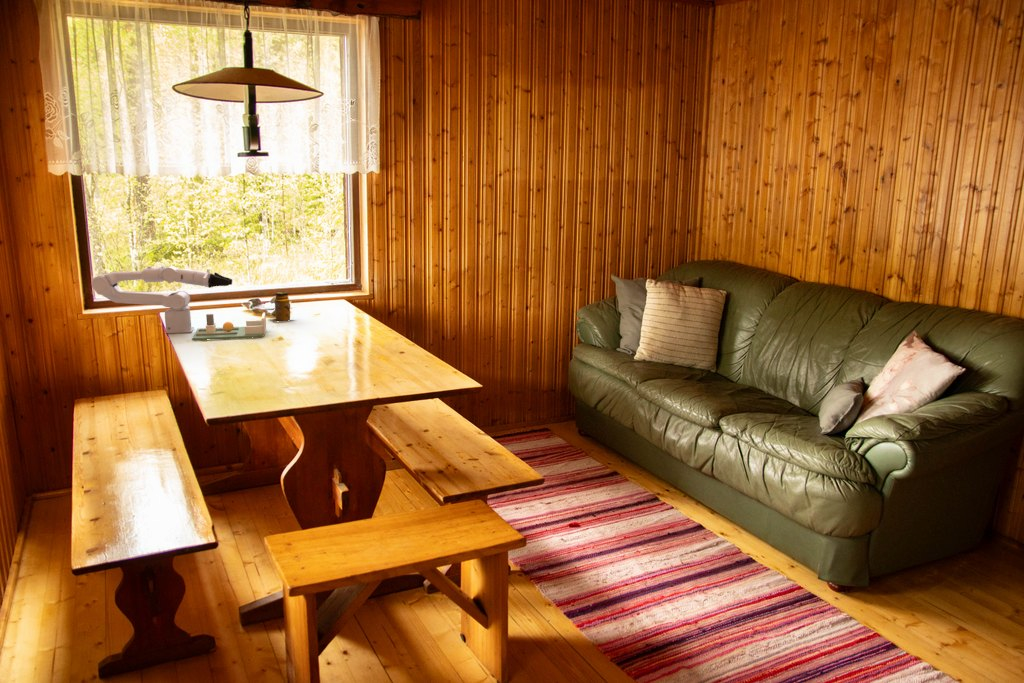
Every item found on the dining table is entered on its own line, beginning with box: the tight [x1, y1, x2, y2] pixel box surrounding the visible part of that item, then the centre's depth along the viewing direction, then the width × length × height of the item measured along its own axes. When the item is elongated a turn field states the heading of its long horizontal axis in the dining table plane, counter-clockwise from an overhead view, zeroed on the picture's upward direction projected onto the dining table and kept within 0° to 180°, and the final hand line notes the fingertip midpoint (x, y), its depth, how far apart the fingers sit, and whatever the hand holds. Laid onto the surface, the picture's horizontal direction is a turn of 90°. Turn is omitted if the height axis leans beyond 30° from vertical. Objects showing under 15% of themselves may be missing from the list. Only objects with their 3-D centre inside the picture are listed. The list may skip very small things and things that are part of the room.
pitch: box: [191, 326, 265, 341], centre depth 321 cm, size 26×18×2 cm
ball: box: [222, 321, 235, 332], centre depth 321 cm, size 4×4×4 cm
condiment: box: [268, 291, 291, 323], centre depth 348 cm, size 7×8×12 cm
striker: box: [205, 313, 217, 333], centre depth 319 cm, size 3×6×7 cm, turn 15°
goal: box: [244, 312, 267, 335], centre depth 323 cm, size 8×12×6 cm, turn 15°
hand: (230, 282), depth 325 cm, fingers open, 7 cm apart
